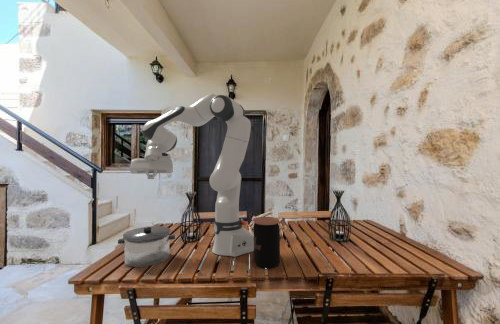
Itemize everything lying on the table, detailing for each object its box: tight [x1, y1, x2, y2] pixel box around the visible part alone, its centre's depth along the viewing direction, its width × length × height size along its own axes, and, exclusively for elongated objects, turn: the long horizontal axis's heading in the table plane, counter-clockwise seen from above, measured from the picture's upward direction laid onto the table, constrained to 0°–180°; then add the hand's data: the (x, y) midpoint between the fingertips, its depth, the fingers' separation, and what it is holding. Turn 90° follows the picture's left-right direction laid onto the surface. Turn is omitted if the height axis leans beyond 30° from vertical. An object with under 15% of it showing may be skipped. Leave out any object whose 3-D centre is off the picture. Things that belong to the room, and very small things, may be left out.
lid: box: [122, 225, 171, 241], centre depth 108 cm, size 20×19×3 cm
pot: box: [117, 234, 176, 268], centre depth 108 cm, size 18×23×10 cm
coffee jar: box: [253, 216, 281, 269], centre depth 101 cm, size 11×11×18 cm
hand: (150, 178), depth 120 cm, fingers closed
